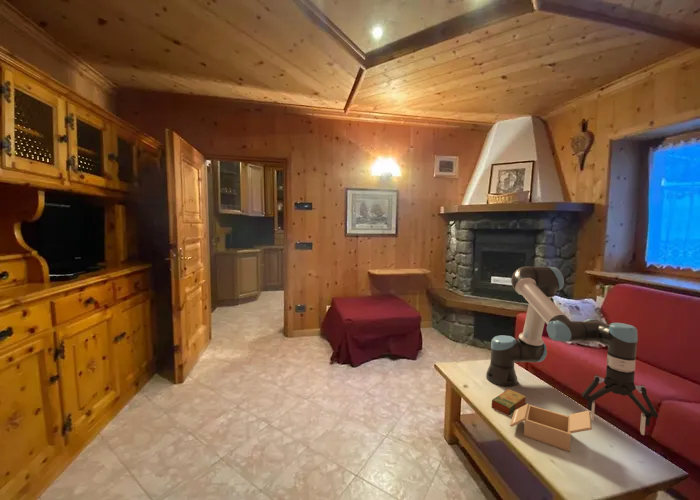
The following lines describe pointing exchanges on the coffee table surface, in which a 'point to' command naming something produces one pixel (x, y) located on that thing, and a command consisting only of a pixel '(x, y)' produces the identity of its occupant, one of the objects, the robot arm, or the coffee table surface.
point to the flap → (580, 422)
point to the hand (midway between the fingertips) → (616, 425)
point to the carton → (508, 402)
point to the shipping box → (544, 426)
